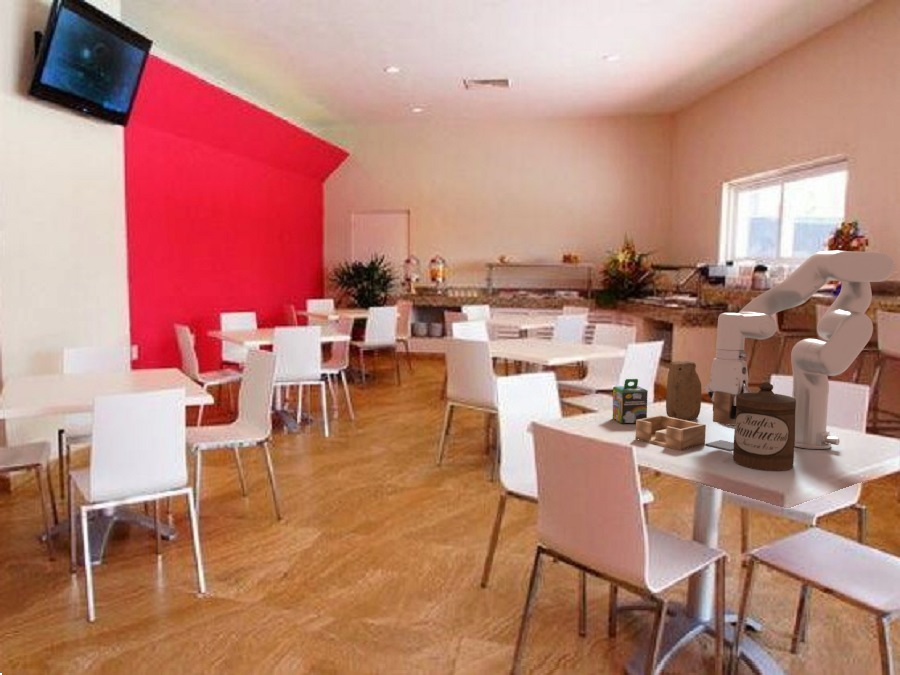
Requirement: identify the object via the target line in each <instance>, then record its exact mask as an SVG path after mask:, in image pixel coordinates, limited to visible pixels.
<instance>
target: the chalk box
mask: <svg viewBox="0 0 900 675" xmlns="http://www.w3.org/2000/svg"><path fill="white" fill-rule="evenodd" d="M638 382H639V379H638V378H626V379H625V380H624V384H623V385H621V386H619V385H618V386H613V387H612V419H613V418H614V420H615V419H616V420H615V421H616V422H618V421H619V422H618V423H619V424H621V423H636V420H638V419H643V418H648V391H649V390H647V389H645V388H643V387H641V386H639V385H638ZM629 383H633V384H632V385H629Z"/></svg>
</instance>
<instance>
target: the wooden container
mask: <svg viewBox="0 0 900 675" xmlns="http://www.w3.org/2000/svg"><path fill="white" fill-rule="evenodd" d="M758 389H759V391H758V392H750V393H741V394H738V395H737V396H736V419H735V425H734V431H733V432H734V433H733V434H734V435H733V443H734V450H732V451H733V454H732V459H733V462H734V463H736V464H738V465H740V466H743V467H745V468H750V469H753V470H754V469H755V470H760V471H771V472H773V471H774V472H775V471H776V472H779V471H787V470H790V469H792V468H794V461H795V460H794V458H795V448H796V447H795V410H796V399H795V398H793V397H792V396H790V395H785V394H781V393H780V394H779V393H774V391H773V390H774V385H773V384H771V383H770V382H762V383H760V384H759V386H758Z"/></svg>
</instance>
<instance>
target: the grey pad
mask: <svg viewBox="0 0 900 675" xmlns="http://www.w3.org/2000/svg"><path fill="white" fill-rule="evenodd" d="M705 446H707V447H708V446H709V447H712V448H716V449H720V450H724V451H729V452H731V451H733V450H734V442H731V441H728V440H724V439H719V440H716V441H711V442H707V443H706V442H705Z"/></svg>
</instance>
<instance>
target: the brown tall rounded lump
mask: <svg viewBox="0 0 900 675" xmlns="http://www.w3.org/2000/svg"><path fill="white" fill-rule="evenodd" d="M696 368H697V365H696V363H695V361H689V360H685V361H682V360H681V361H680V360H679V361H671V362H669V364H668V369H669V370H668V373H667V382H666V395H665V413H666V415H667V417H672V418H677V419H681V420H686V421H690V420H696V419H697V418H699V416H700V413H701V407H702V382H701V380H700V377H699V375H698V373H697V370H696Z"/></svg>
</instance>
